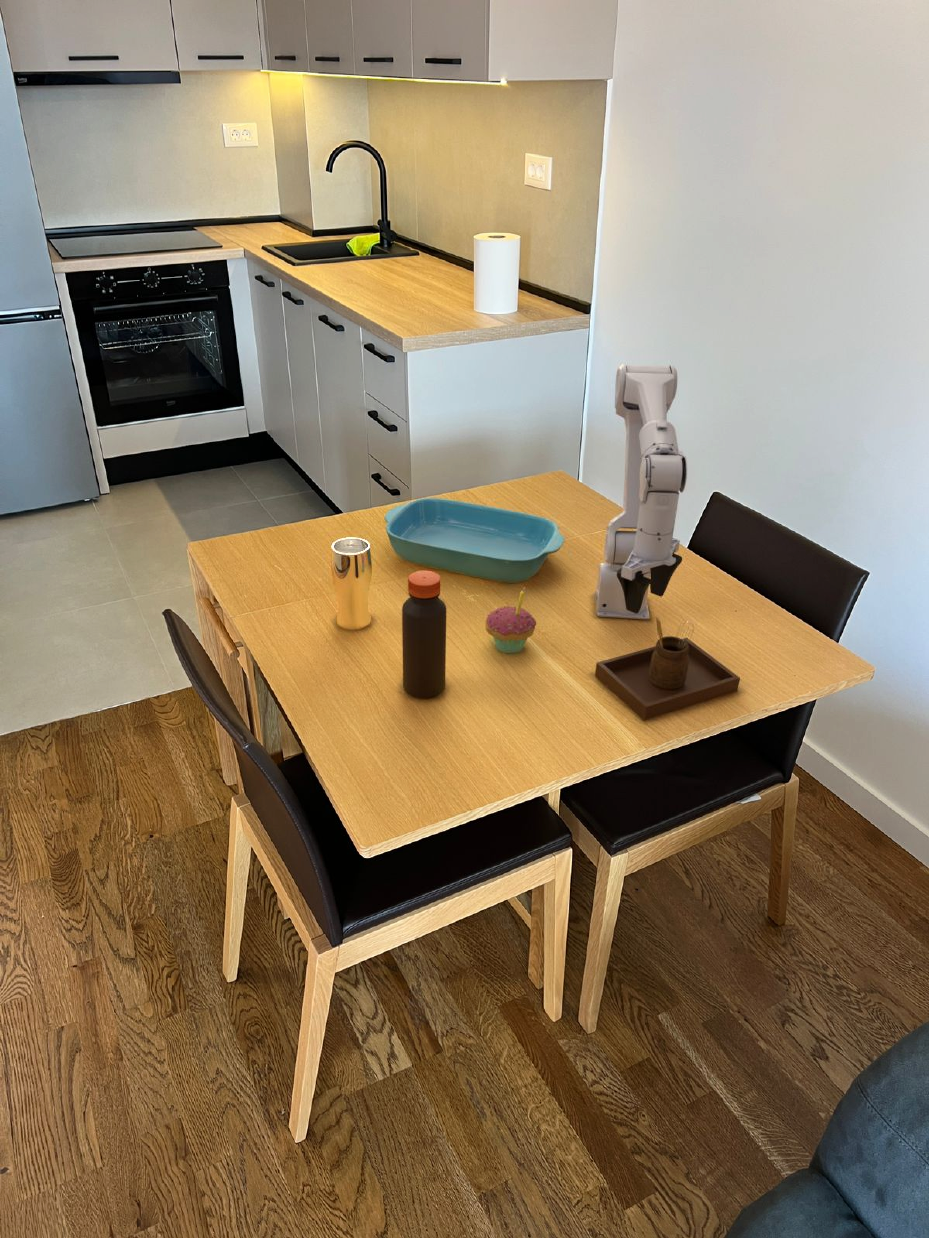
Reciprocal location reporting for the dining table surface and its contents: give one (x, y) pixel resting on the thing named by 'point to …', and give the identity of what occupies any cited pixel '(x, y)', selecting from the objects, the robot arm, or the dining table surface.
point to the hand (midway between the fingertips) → (644, 602)
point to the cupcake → (510, 627)
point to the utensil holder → (669, 660)
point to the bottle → (424, 636)
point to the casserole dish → (472, 538)
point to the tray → (651, 701)
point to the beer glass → (352, 581)
